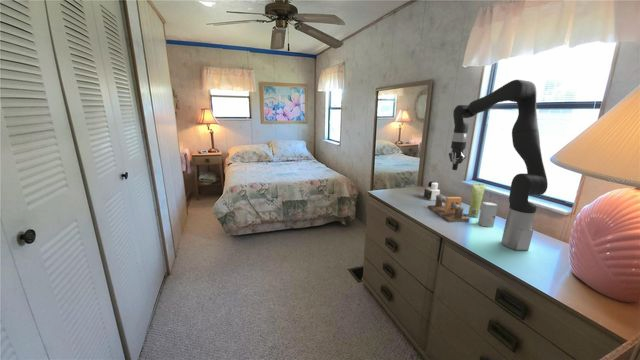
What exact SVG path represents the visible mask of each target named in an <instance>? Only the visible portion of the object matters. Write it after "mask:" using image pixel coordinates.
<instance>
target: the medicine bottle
mask: <svg viewBox="0 0 640 360" xmlns="http://www.w3.org/2000/svg"><path fill="white" fill-rule="evenodd" d="M438 187H439V183H438V182H436V181H428V184H427V187H425V188H424V192H423V198H424V199H426V200H428V201H436V196H437V195H441V189H438Z"/></svg>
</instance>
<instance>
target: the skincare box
mask: <svg viewBox="0 0 640 360" xmlns="http://www.w3.org/2000/svg"><path fill="white" fill-rule="evenodd" d="M497 210H498V204H496V203H495V202H489V201H488V202H487V201H481V206H480V210H479V215H478V221H477V222H478V224H479V225H480V226H481V227H491V228H493V227H494V225H495V220H496V216H497V212H498V211H497Z"/></svg>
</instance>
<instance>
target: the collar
mask: <svg viewBox="0 0 640 360" xmlns="http://www.w3.org/2000/svg"><path fill="white" fill-rule="evenodd" d="M445 198H446V202H445V203H444V205H445V209H444V211H445V212H446V213H454V212H455V209H453V208H451V203H455V204H457V205H459V206H461V205H462V201H463V198H462V197H460V196H446V197H445ZM461 207H462V206H461Z"/></svg>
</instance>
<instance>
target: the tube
mask: <svg viewBox="0 0 640 360" xmlns="http://www.w3.org/2000/svg"><path fill="white" fill-rule="evenodd" d="M486 187H487V184H486V183H472V187H471V197H470V201H469V202H470V204H469V210H468V213H467V214H468V216H469V217H471V218H479V215H480V211H481V206H482V202H483V201H482V200H483V197H484V195H485V190H486Z"/></svg>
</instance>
